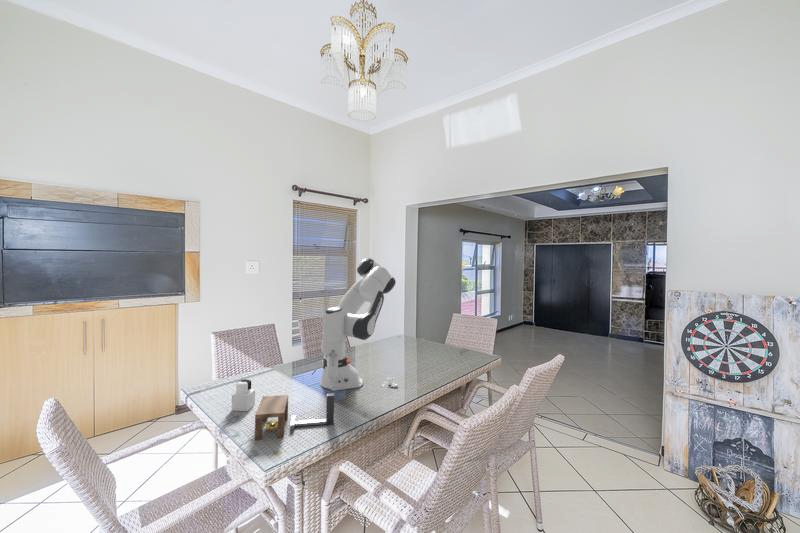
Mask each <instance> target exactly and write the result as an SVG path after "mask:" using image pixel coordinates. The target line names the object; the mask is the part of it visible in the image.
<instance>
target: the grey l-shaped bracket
mask: <svg viewBox="0 0 800 533" xmlns="http://www.w3.org/2000/svg"><path fill="white" fill-rule="evenodd" d="M325 407H326V408H325V409H326V415H325V418H319V419H318V418H317V419H316V418H314V419H303V420H297V419H296V418H297V415H296V414H295V415H291V420H290V423H289V432H295V428H296V427H304V426H305V427H306V426H307V427H308V426H317V425H318V426H319V425H325V426H334V424H335V423H334V420H335V419H334V418H335V393H334V392H332V393H331V392H330V393H326V406H325Z"/></svg>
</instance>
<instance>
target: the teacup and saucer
mask: <svg viewBox="0 0 800 533" xmlns="http://www.w3.org/2000/svg"><path fill="white" fill-rule="evenodd" d="M386 382H387V383H386ZM386 382H384V383H386V384H387V386H388V385H391V386H390V387H393V388H397V387H398V383H396V384H394V383H392V382H394V380H393V377H391V376H388V377H387V378H386ZM381 385H382V386H383V387H384V385H385V384H384V385H383V383H382V384H381Z"/></svg>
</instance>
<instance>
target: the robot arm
mask: <svg viewBox="0 0 800 533" xmlns="http://www.w3.org/2000/svg"><path fill="white" fill-rule="evenodd" d="M356 272H357V274H358V275H359V276H361V277H360V278H359V279H358V280H357V281H356V282H355V283H353V284H352V285H351V286H350V288H349V289H348V290H347V291H346V292H345V294H344V295H342V297H341V300H340V301H339V303H338V304H337V306H332V307H331V306H330V307H327V308H326V309H325V311H324V313H323V316H322V322H321V323H322V326H321V330H322V336H321V337H322V338H321V353H322V354H323V358H322V376H321V379H320V380H321V381H320V383H319V385H320V386H321V387H322V388H324V389H329V390H331V391H332V392H333V391H340V390H341V391H342V390H348V389H349V390H350V389H356V388H361V387H362V386H363V385H364V384H363V383H364V382H363V381H364V380H363V378H361V377H360V376H359V371H358V370H357V368H355V367H354V366H352V365H351V360H350V359H349V357H348V356H346V338H345V336H346V337H351V338H355V339H359V340H362V341H365V340H366V341H367V339H369V338H370V337H372V335H373V334H374V332H375V327H376V323H377V320H378V319H379V316H380V312H381V311H382V310H381V309H382V307H383V305H384V301H385V294H388V293H390V292H391V291H392V290H393V289H394V287H395V286H396V279H395V277H394V276H393V275H391V274H390V273H389V271H388V269H387V268H386V267H383V266H381V265H380V264H378V263H377V262H376V261H375V260H374V259H372V258H371V257H366V258H363V259H362V260H361V261H360V262H359V263H358V266H357V268H356ZM366 302H368V303H369V306H368V307H367V311H366V313H363V314H358V312H359V311H360V309H361V308H362V307H363V306H364V304H365V303H366Z"/></svg>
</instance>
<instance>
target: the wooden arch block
mask: <svg viewBox="0 0 800 533" xmlns="http://www.w3.org/2000/svg"><path fill="white" fill-rule="evenodd" d="M288 417H289V394H285V395H283V394H281V395H280V394H279V395H266V396H264V395H263V396H262V397H261V400H260V403H259V406H258V407H257V410H256V412H255V416H254V440H255V441H259V440H261V439H262V437H263V436H262V432H263V431H262V429H263V422H268V419H273V418H277V421H278V429H277V439H281V438H282V439H283V438H284V437H285V420H288Z"/></svg>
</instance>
